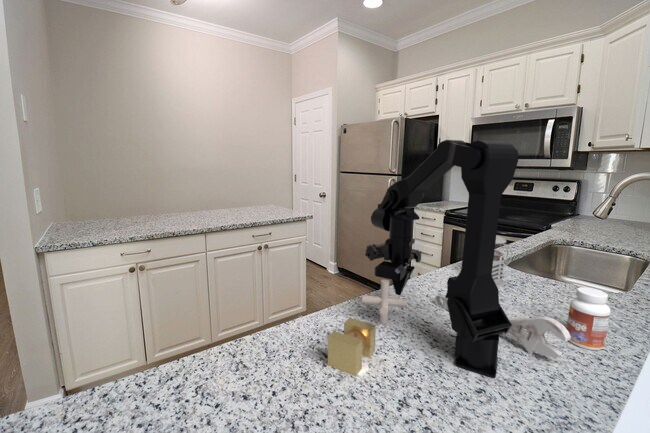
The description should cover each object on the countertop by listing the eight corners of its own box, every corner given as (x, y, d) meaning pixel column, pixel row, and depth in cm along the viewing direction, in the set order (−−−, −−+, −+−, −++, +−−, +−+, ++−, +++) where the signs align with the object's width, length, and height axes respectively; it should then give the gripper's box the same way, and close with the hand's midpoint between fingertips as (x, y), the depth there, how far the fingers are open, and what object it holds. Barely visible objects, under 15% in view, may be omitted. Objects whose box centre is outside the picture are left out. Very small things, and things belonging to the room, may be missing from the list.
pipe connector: (407, 335, 65) (409, 291, 63) (360, 330, 67) (361, 287, 65) (404, 313, 75) (406, 274, 73) (363, 309, 77) (364, 271, 75)
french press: (463, 277, 99) (469, 200, 95) (496, 275, 101) (504, 200, 96) (482, 289, 90) (489, 204, 86) (518, 287, 91) (527, 204, 87)
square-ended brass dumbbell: (349, 343, 62) (349, 317, 61) (374, 351, 59) (375, 325, 58) (327, 365, 55) (328, 337, 54) (355, 376, 52) (356, 346, 51)
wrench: (439, 313, 81) (571, 367, 54) (434, 315, 80) (565, 370, 53) (438, 284, 80) (571, 323, 54) (433, 285, 80) (565, 325, 53)
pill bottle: (557, 334, 66) (564, 285, 64) (586, 334, 66) (594, 285, 64) (581, 351, 60) (589, 298, 58) (613, 351, 60) (622, 298, 58)
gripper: (384, 225, 88) (382, 277, 91) (355, 238, 72) (354, 300, 75) (423, 230, 82) (420, 285, 85) (400, 245, 67) (398, 312, 69)
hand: (398, 294), depth 79 cm, fingers closed
